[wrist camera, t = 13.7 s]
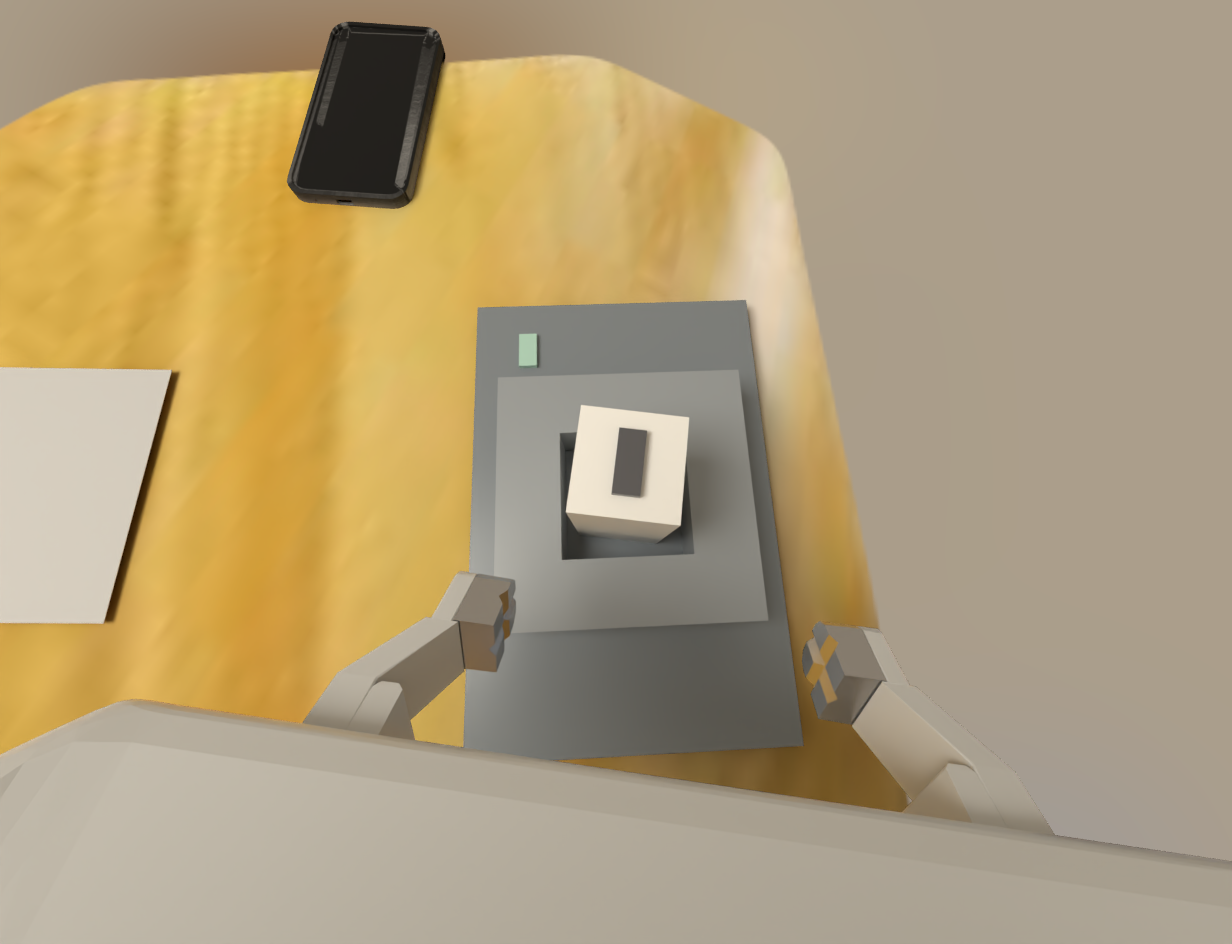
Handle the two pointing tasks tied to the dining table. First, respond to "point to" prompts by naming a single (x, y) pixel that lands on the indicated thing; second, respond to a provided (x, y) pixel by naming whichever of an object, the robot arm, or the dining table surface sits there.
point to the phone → (368, 116)
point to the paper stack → (70, 485)
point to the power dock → (627, 542)
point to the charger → (627, 474)
